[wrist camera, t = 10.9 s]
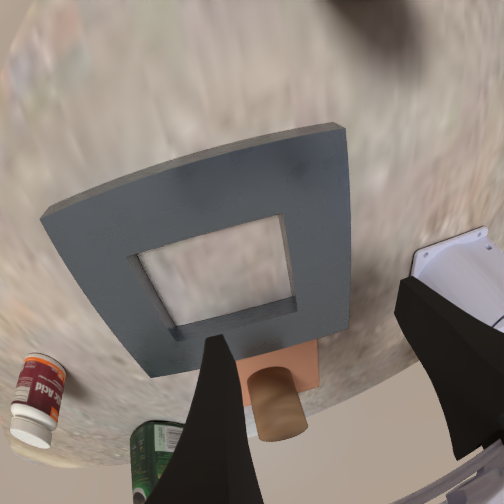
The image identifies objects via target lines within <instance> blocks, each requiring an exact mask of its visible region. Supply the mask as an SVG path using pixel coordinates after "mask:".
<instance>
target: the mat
mask: <svg viewBox="0 0 504 504" xmlns="http://www.w3.org/2000/svg"><path fill="white" fill-rule="evenodd" d="M235 362H236V365H237V370H238V374H239V379H240V383H241V389H242V398H243V406H249V405H251V400H250V396H249V391H248V386H247V380H248V378H249V377H250V376H251V375H252V374H253V373H255V372H257V371H259V370H261V369H264V368H268V367H275V366H279V367H285V368H287V369H289V370H290V372H291V374H292V378H293V381H294V384H295V387H296V390H297V393H299V392H302V391H306V390H309V389H312V388H316V387H319V371H318V352H317V339H314V340H311V341H308V342H304V343H301V344H298V345H294V346H291V347H287V348H284V349H280V350H276V351H273V352H269V353H265V354H262V355H258V356H254V357H250V358H246V359H242V360H238V361H235Z"/></svg>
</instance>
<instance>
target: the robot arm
mask: <svg viewBox="0 0 504 504" xmlns="http://www.w3.org/2000/svg"><path fill="white" fill-rule="evenodd" d="M487 233H488V228H487V227H486V226H483V227H481V228H478V229H475V230H473V231H470V232H467V233H465V234H462V235H459V236H456V237H454V238H451V239H448V240H445V241H443V242H440V243H437V244H434V245H431V246H428V247H426V248H423V249H420V250H418V251H417V252H416V253H415V255H414V260H413V266H412V271H411V276H410V277H407V278H405V279H402V280H400V285H399V291H398V296H397V301H396V306H395V311H394V315H395V317H396V319H397V321H398V323H399V326H400V328H401V330H402V332H403V334H404V336H405V337H406V339H407V341H408V342H409V344H410V345H411V347H412V349H413V350H414V352H415V354H416V355H417V357H418V359H419V360H420V362H421V363H422V365H423V367H424V368H425V370H426V372H427V374H428V376H429V378H430V379H431V382H432V384H433V386H434V388H435V391H436V393H437V396H438V398H439V401H440V404H441V407H442V409H443V412H444V415H445V419H446V422H447V426H448V429H449V433H450V437H451V442H452V446H453V452H454V455H455V458H456V460H457V461H458V460H460V459H462V458H463V457H465V456H466V455H468V454H470V453H471V452H473V451H474V450H475V449H477V448H479V447H480V446H481V445H482V447H483V449H484V450H483V451H482V452H481V453H479V454H478V455H476V456H475V457H474V458H472V459H470V460H469V461H467V462H466V463H465V464H463V465H461V466H460V467H458V468H457V469H455V470H453V471H452V472H450V473H448V474H447V475H445V476H443V477H442V478H440V479H438V480H436V481H435V482H433V483H431V484H429V485H427V486H426V487H424V488H422V489H420V490H418V491H416V492H414V493H412V494H410V495H408V496H406V497H404V498H402V499H399V500H397V501H395V502H393V503H390V504H424V503H426V502H427V501H429V500H431V499H433V498H435V497H437V496H439V495H440V494H442V493H444V492H445V491H447V490H449V489H450V488H452V487H454V486H455V485H457V484H458V483H460V482H461V481H463V480H465V479H466V478H467V477H469V476H471V475H472V474H474V473H475V472H476V471H477V474H476V476H474V477H472V478H470V479H468V480H466V481H465V482H463V483H461V484H460V485H458V486H457V487H455V488H454V489H453V490H451V491H450V492H448V493H447V494H446V498H447V500H445V501H444V502H442V503H440V504H504V252H503V251H502V250H501V249H500V248H499V247H498V246H497V245H496V244H495V243H493V242H492V241H491V240H490V239H489V238H488V237H487ZM144 504H264V503H263V499H262V495H261V492H260V488H259V485H258V481H257V477H256V473H255V470H254V466H253V462H252V458H251V453H250V449H249V445H248V439H247V432H246V424H245V415H244V406H243V398H242V389H241V383H240V379H239V374H238V370H237V365H236V362H235V360H234V357H233V355H232V353H231V351H230V349H229V347H228V345H227V342H226V340H225V338H224V336H223V334H220V335H216V336H211V337H207V338H206V339H205V344H204V351H203V358H202V363H201V368H200V373H199V377H198V381H197V386H196V390H195V394H194V397H193V400H192V404H191V407H190V410H189V414H188V417H187V420H186V423H185V425H184V428H183V431H182V433H181V436H180V438H179V441H178V443H177V445H176V447H175V450H174V452H173V454H172V456H171V458H170V460H169V462H168V464H167V466H166V468H165V470H164V471H163V473H162V475H161V477H160V479H159V481H158V482H157V484H156V486H155V487H154V489H153V490H152V492H151V493H150V495H149V496H148V498H147V499H146V501H145V502H144Z"/></svg>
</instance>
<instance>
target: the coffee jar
mask: <svg viewBox="0 0 504 504" xmlns="http://www.w3.org/2000/svg"><path fill="white" fill-rule="evenodd" d="M183 428H184V426H183V425H180V424H176V423H171V422H148V423H145V424H143V425H141V426H140V427H138V428H137V429H136V430H135V431H134V432H133V433H132V435H131V437H130V457H131V473H132V490H133V503H134V504H144V502H145V501H146V499H147V498H148V496H149V495H150V493H151V492H152V490H153V489H154V487H155V486H156V484H157V482H158V481H159V479H160V477H161V475H162V473H163V471H164V470H165V468H166V466H167V464H168V462H169V460H170V458H171V456H172V454H173V452H174V450H175V447H176V445H177V443H178V441H179V438H180V436H181V433H182V431H183Z"/></svg>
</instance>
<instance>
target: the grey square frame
mask: <svg viewBox="0 0 504 504" xmlns="http://www.w3.org/2000/svg"><path fill="white" fill-rule="evenodd" d="M277 214H278V215H279V221H280V226H281V232H282V238H283V244H284V250H285V256H286V262H287V268H288V274H289V280H290V286H291V292H292V297H290V298H287V299H283V300H280V301H276V302H272V303H269V304H265V305H261V306H258V307H254V308H250V309H246V310H243V311H239V312H235V313H231V314H227V315H223V316H219V317H215V318H211V319H207V320H203V321H199V322H195V323H191V324H186V325H182V326H178V327H176V326H175V324H174V323H173V321H172V319H171V318H170V316H169V314H168V312H167V311H166V309H165V307H164V305H163V304H162V302H161V300H160V298H159V297H158V295H157V293H156V291H155V289H154V287H153V286H152V284H151V282H150V280H149V278H148V276H147V274H146V273H145V271H144V269H143V267H142V265H141V263H140V261H139V259H138V257H137V255H136V253H140V252H143V251H147V250H150V249H153V248H157V247H160V246H164V245H167V244H171V243H174V242H178V241H181V240H185V239H188V238H192V237H195V236H199V235H202V234H206V233H210V232H213V231H217V230H221V229H224V228H228V227H232V226H235V225H239V224H243V223H246V222H250V221H254V220H258V219H262V218H265V217H269V216H273V215H277ZM40 221H41V223H42V225H43V226H44V228H45V230H46V232H47V234H48V236H49V237H50V239H51V241H52V243H53V244H54V246H55V248H56V249H57V251H58V253H59V254H60V256H61V258H62V259H63V261H64V263H65V264H66V266H67V268H68V269H69V271H70V272H71V274H72V275H73V277H74V278H75V280H76V282H77V283H78V285H79V286H80V288H81V289H82V291H83V292H84V293H85V295H86V296H87V298H88V299H89V301H90V302H91V304H92V305H93V306H94V308H95V309H96V311H97V312H98V313H99V315H100V316H101V317H102V319H103V320H104V321H105V323H106V324H107V325H108V327H109V328H110V329H111V331H112V332H113V333H114V335H115V336H116V337H117V338H118V340H119V341H120V342H121V343H122V345H123V346H124V347H125V348H126V350H127V351H128V352H129V353H130V354H131V356H132V357H133V358H134V359H135V360H136V361H137V363H138V364H139V365H140V366H141V367H142V368H143V370H144V371H145V372H146V373H147V374H148V375H149V376H150V378H154V377H160V376H166V375H171V374H177V373H182V372H187V371H192V370H197V369H200V368H201V363H202V358H203V351H204V344H205V339H206V338H207V337H211V336H216V335H220V334H223V336H224V338H225V340H226V342H227V345H228V347H229V349H230V351H231V353H232V355H233V357H234V360H235V361H238V360H242V359H246V358H250V357H254V356H258V355H262V354H265V353H269V352H273V351H276V350H280V349H284V348H287V347H291V346H294V345H298V344H301V343H304V342H308V341H311V340H314V339H317V338H321V337H324V336H327V335H330V334H333V333H336V332H339V331H342V330H345V329H348V325H349V307H350V281H351V212H350V185H349V167H348V153H347V141H346V129H345V128H344V127H342V126H340V125H338V124H336V123H334V122H331V123H325V124H319V125H314V126H308V127H302V128H297V129H292V130H287V131H282V132H277V133H273V134H268V135H263V136H259V137H255V138H250V139H246V140H242V141H238V142H234V143H230V144H226V145H222V146H218V147H215V148H211V149H207V150H204V151H200V152H197V153H193V154H190V155H187V156H183V157H180V158H177V159H173V160H170V161H167V162H164V163H161V164H158V165H155V166H152V167H149V168H146V169H143V170H140V171H137V172H134V173H131V174H129V175H126V176H123V177H120V178H118V179H115V180H112V181H110V182H107V183H104V184H102V185H99V186H97V187H94V188H92V189H89V190H87V191H84V192H82V193H79V194H77V195H75V196H72V197H70V198H68V199H65V200H63V201H61V202H59V203H56V204H54V205H52V206H50V207H49V208H48V209H47V210H46V211H45V213H44V214H43V215H42V216H41V218H40Z"/></svg>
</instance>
